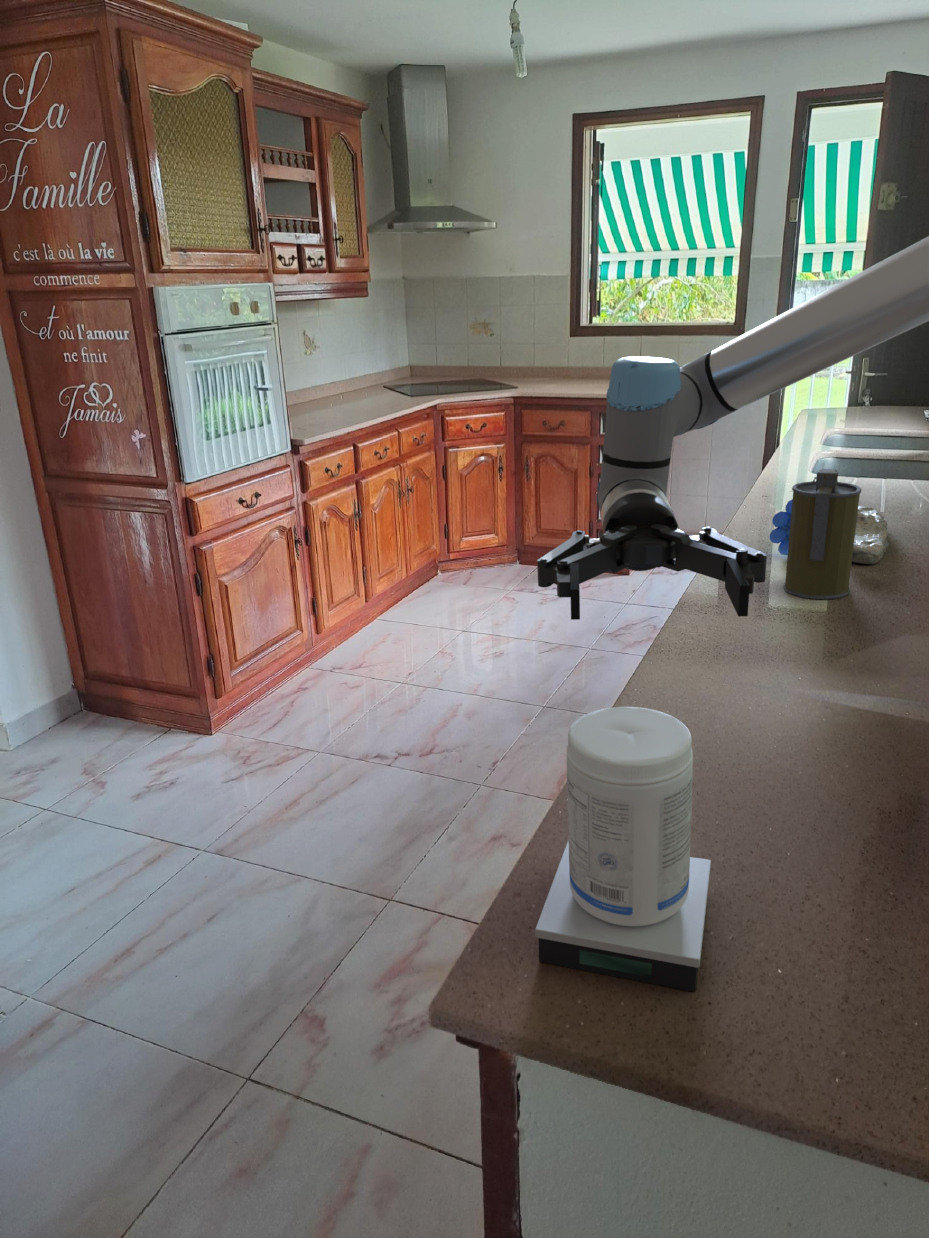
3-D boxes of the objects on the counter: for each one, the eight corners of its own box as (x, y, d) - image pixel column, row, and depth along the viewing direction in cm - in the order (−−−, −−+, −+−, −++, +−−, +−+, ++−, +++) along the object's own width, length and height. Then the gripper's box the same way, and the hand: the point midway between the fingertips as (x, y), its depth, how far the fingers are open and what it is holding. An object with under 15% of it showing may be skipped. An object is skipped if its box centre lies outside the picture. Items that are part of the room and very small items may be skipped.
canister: (787, 577, 154) (797, 464, 147) (851, 583, 150) (865, 466, 143) (779, 596, 145) (789, 476, 138) (847, 603, 141) (861, 480, 134)
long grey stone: (830, 570, 161) (890, 577, 158) (835, 543, 159) (895, 549, 155) (831, 514, 190) (881, 519, 187) (835, 491, 188) (886, 495, 185)
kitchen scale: (709, 891, 76) (711, 859, 75) (697, 995, 65) (700, 959, 64) (568, 869, 80) (568, 838, 79) (535, 963, 69) (534, 929, 68)
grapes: (832, 552, 167) (839, 490, 163) (834, 562, 161) (841, 498, 157) (768, 549, 171) (773, 488, 167) (767, 559, 165) (772, 496, 161)
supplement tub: (659, 849, 77) (665, 697, 72) (709, 920, 68) (719, 752, 63) (552, 867, 75) (550, 713, 70) (589, 942, 66) (590, 772, 61)
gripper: (759, 556, 92) (812, 641, 72) (520, 563, 95) (509, 646, 75) (764, 486, 89) (820, 555, 69) (517, 495, 92) (504, 563, 72)
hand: (658, 603), depth 72 cm, fingers open, 13 cm apart
